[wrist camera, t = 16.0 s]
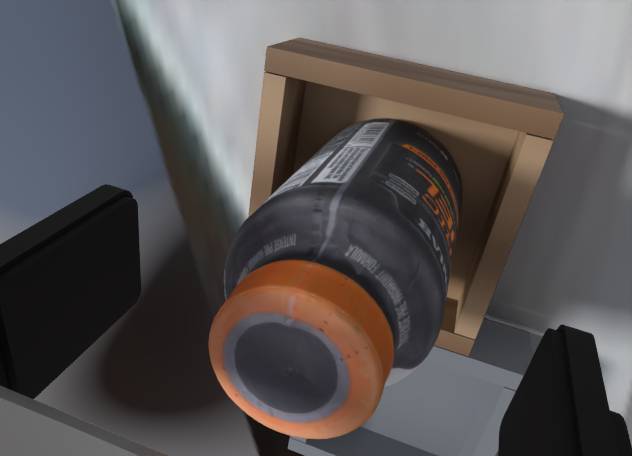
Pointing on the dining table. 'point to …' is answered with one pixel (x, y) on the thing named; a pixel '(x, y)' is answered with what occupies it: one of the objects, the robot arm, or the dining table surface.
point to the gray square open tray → (441, 403)
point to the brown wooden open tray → (437, 119)
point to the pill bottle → (339, 280)
